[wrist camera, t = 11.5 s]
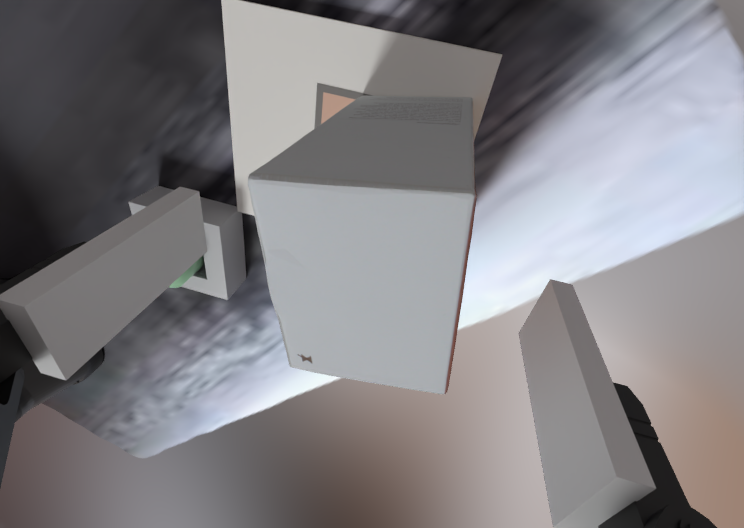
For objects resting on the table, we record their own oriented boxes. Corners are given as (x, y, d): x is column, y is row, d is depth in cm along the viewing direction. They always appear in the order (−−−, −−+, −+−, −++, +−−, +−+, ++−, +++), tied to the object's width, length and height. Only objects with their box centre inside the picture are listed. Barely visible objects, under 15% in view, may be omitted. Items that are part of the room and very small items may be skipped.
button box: (173, 257, 32) (149, 277, 30) (158, 185, 28) (128, 201, 25) (246, 278, 31) (227, 300, 29) (241, 207, 27) (219, 226, 25)
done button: (166, 264, 29) (146, 280, 27) (158, 228, 26) (135, 243, 25) (206, 275, 28) (188, 293, 26) (200, 239, 26) (180, 256, 24)
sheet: (241, 207, 27) (237, 211, 27) (227, -4, 19) (220, -4, 19) (434, 259, 26) (433, 263, 25) (501, 54, 18) (502, 55, 18)
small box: (459, 228, 23) (447, 401, 13) (364, 220, 25) (285, 371, 14) (476, 92, 19) (480, 191, 8) (359, 91, 20) (236, 175, 10)
